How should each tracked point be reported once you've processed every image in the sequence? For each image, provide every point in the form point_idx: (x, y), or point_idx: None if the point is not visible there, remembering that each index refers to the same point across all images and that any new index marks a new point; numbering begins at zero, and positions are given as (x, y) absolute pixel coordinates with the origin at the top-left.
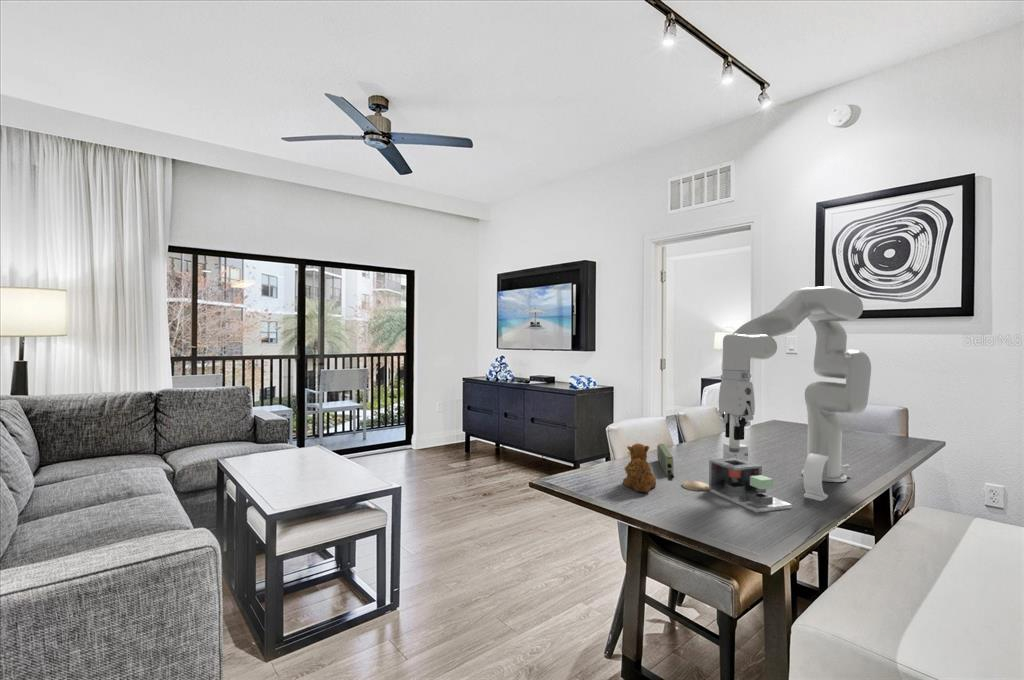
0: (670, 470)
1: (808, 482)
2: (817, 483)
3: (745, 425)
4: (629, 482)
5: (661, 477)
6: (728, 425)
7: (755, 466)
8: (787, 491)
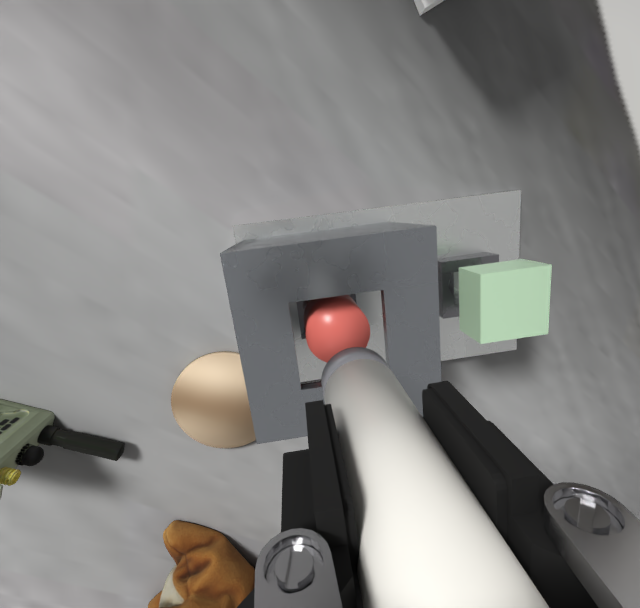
0: (42, 436)
1: None
2: None
3: (600, 502)
4: None
5: (92, 469)
6: (362, 602)
7: (437, 273)
8: (336, 31)
